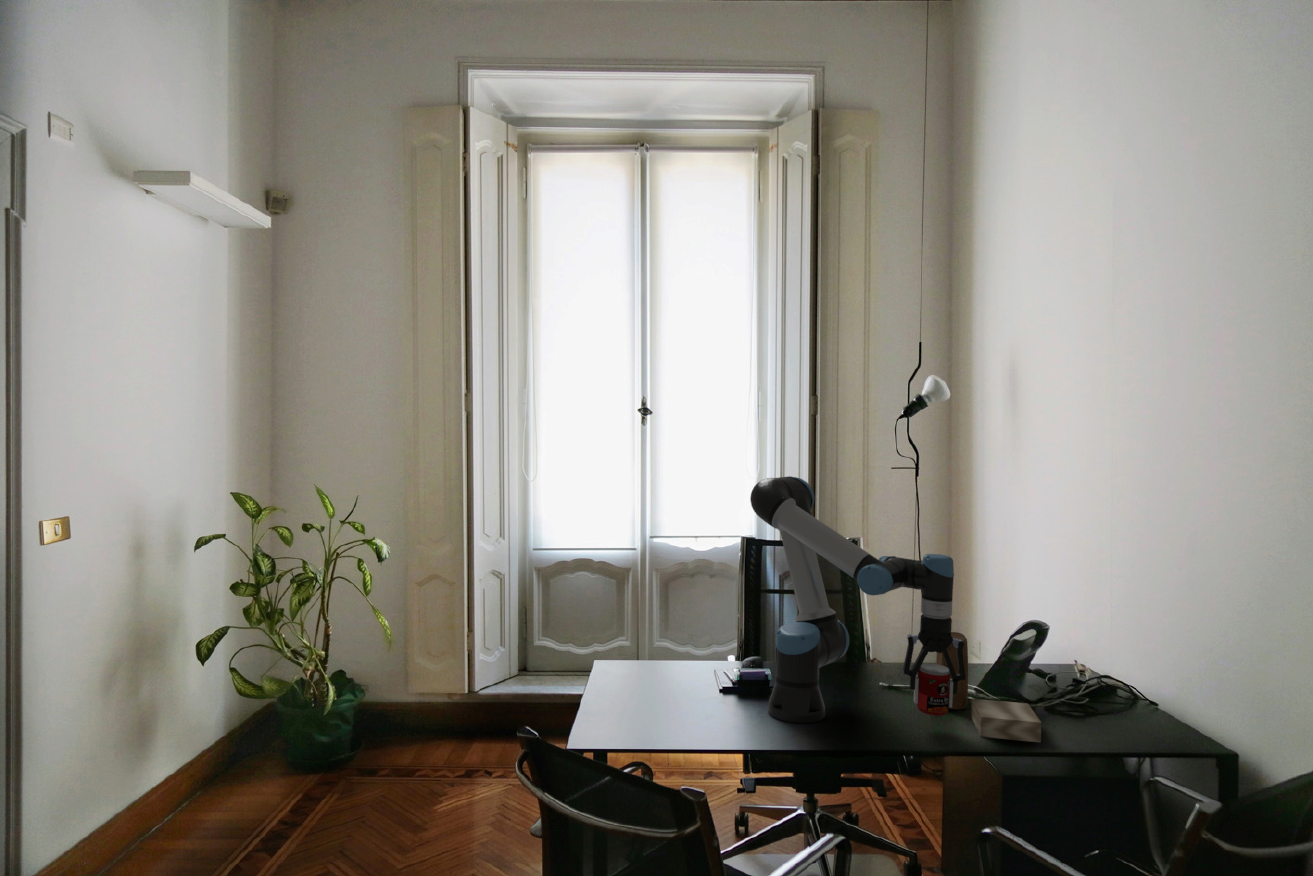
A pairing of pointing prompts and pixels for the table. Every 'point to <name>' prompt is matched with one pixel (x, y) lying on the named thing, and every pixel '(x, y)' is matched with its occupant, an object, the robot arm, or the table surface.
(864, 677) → the table surface
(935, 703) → the canned food
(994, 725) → the birch base block
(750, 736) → the table surface
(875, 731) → the table surface
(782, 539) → the robot arm
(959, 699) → the block
